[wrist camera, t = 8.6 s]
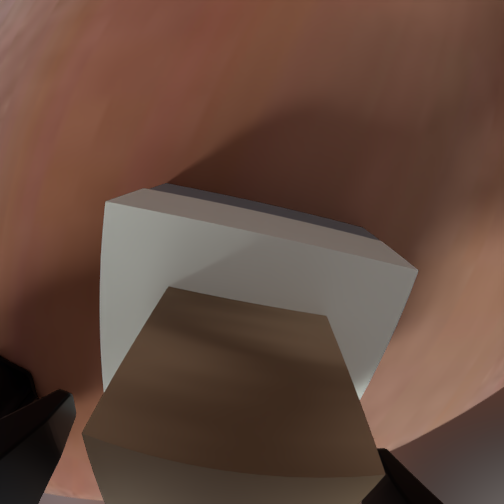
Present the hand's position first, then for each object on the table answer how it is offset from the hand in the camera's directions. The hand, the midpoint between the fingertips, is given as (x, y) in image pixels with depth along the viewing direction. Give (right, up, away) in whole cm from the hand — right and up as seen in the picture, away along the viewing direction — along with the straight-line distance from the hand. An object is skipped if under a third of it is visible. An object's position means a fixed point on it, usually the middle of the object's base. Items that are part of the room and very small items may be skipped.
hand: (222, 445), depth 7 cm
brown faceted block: (0, +1, +3) cm, 3 cm away
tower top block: (0, +2, +6) cm, 7 cm away
